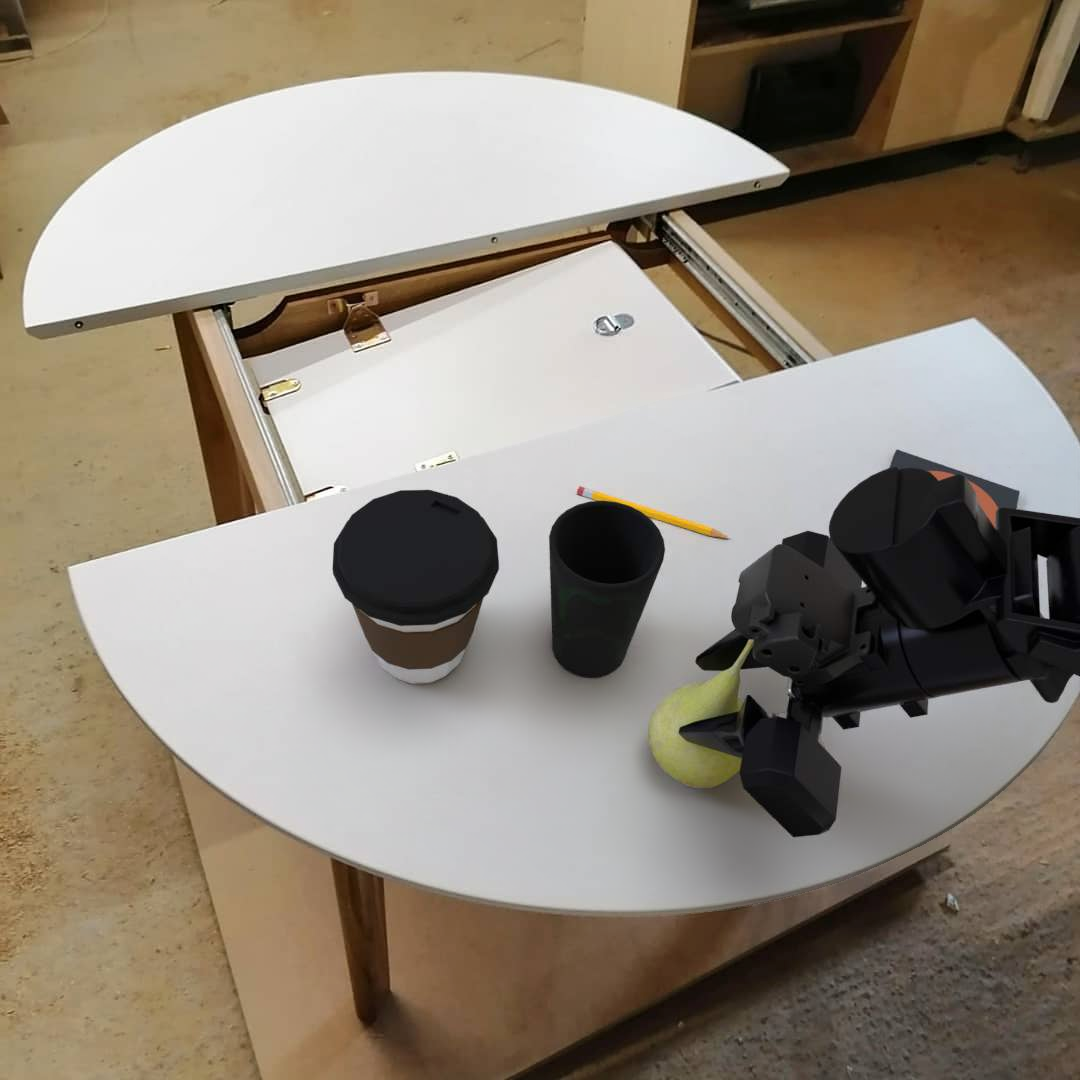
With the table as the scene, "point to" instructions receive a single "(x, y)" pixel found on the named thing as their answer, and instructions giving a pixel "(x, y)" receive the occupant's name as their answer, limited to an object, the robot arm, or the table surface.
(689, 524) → the pencil
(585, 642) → the cup
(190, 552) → the table surface
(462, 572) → the coffee cup
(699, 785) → the fruit
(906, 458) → the mat
